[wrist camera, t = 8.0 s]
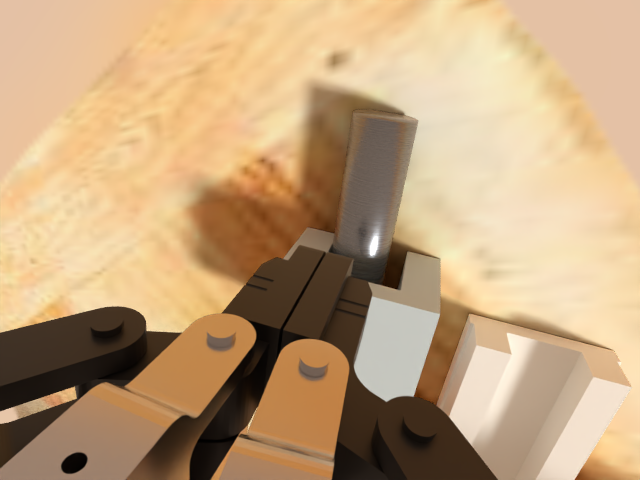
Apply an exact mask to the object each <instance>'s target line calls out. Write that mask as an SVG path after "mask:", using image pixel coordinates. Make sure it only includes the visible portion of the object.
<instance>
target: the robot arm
mask: <svg viewBox="0 0 640 480" xmlns="http://www.w3.org/2000/svg"><path fill="white" fill-rule="evenodd" d="M353 261H354V259H353V258H350V257H346V256H342V255H338V254H334V253H330V252H327V253H326V252H325V251H322V250H318V249H314V248H310V247H306V246H302V245H299V246H298V247H297V249H296V250H295V251H294V253H293V254H292V256H291V257H290V258H289V260H285V259H281V258H277V257H276V258H274V259H272V260H270V261H268V262H266V263H264V264H262V265H261V266H260V267H259V269H258V270H257V271H256V272H255V273H254V275H253V277H251V278H250V280H249V281H248V282H247V284H246V285H245V286H244V287H243V288H242V289H241V290H240V292H239V293H238V294H237V295H236V297H235V298H234V299H233V300H232V301H231V303H230V304H229V305H228V306H227V308H226V309H225V310H224V311H223V312H222V314H212V315H208V316H205V317H202V318H200V319H198V320H196V321H195V322H194V323H192V324H191V325H190V326H189V327H188V328H187V329H186V330H185V331H184V332H183V333H171V332H152V331H146V321H145V318H144V317H143V315H142V314H140V313H139V312H137V311H136V310H133V309H130V308H126V307H104V308H99V309H95V310H91V311H87V312H83V313H79V314H75V315H71V316H67V317H63V318H59V319H55V320H51V321H46V322H42V323H38V324H34V325H30V326H26V327H22V328H18V329H14V330H10V331H6V332H2V333H0V411H2V410H5V409H8V408H11V407H14V406H17V405H20V404H23V403H26V402H29V401H32V400H35V399H38V398H41V397H44V396H47V395H50V394H53V393H56V392H59V391H62V390H65V389H68V388H71V387H74V386H75V390H76V396H77V399H75V400H72V401H69V402H66V403H63V404H61V405H58V406H55V407H52V408H49V409H46V410H43V411H41V412H38V413H35V414H32V415H29V416H26V417H23V418H21V419H18V420H15V421H12V422H9V423H4V424H0V480H498V479H497V478H496V476H495V475H494V474H493V472H492V471H491V470H490V469H489V467H488V466H487V465H486V463H485V462H484V461H483V460H482V458H481V457H480V456H479V455H478V453H477V452H476V451H475V449H474V448H473V447H472V446H471V444H470V443H469V442H468V440H467V439H466V438H465V437H464V435H463V434H462V433H461V431H460V430H459V429H458V428H457V426H456V425H455V424H454V422H453V421H452V420H451V419H450V418H449V416H448V415H447V414H446V413H445V412H444V411H443V410H441V409H440V408H439V407H437V406H436V405H434V404H433V403H431V402H429V401H427V400H424V399H421V398H418V397H412V396H400V397H395V398H393V399H390V400H389V401H387V402H386V401H385V400H383V399H381V398H380V397H378V396H377V395H375V394H374V393H372V392H371V391H369V390H368V389H367V388H366V387H365V386H364V385H363V384H362V383H361V381H360V380H359V378H358V377H357V375H356V373H355V369H354V365H355V361H356V358H357V354H358V351H359V347H360V344H361V340H362V336H363V332H364V328H365V323H366V319H367V315H368V311H369V307H370V303H371V299H372V291H371V288H370V286H369V283H368V281H365V280H361V279H357V278H354V277H351V272H352V267H353ZM257 407H258V408H257ZM256 408H257V410H256ZM255 410H256V413H255V415H254V418H253V420H252V423H251V425H250V428H249V430H248V423H249V422H250V420H251V418H252V416H253V414H254V412H255ZM247 430H248V432H247Z"/></svg>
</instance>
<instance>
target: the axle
mask: <svg viewBox="0 0 640 480" xmlns="http://www.w3.org/2000/svg"><path fill="white" fill-rule="evenodd" d="M417 125H418V120H417V119H415V118H412V117H409V116H406V115H401V114H395V113H389V112H383V111H377V110H367V109H359V110H354V111H353V114H352V121H351V127H350V134H349V140H348V147H347V154H346V160H345V167H344V173H343V180H342V186H341V193H340V200H339V206H338V213H337V219H336V226H335V232H334V239H333V246H332V252H331V253H334V254H338V255H342V256H346V257H350V258H353V259H354V261H353V267H352V272H351V277H354V278H357V279H361V280H365V281H368V282H370V283H374V284H378V285H382V284H383V280H384V275H385V271H386V266H387V262H388V257H389V253H390V248H391V243H392V239H393V234H394V230H395V225H396V221H397V216H398V211H399V207H400V202H401V198H402V193H403V189H404V184H405V180H406V175H407V170H408V166H409V161H410V157H411V152H412V148H413V143H414V138H415V134H416V129H417Z"/></svg>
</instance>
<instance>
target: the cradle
mask: <svg viewBox="0 0 640 480" xmlns="http://www.w3.org/2000/svg"><path fill="white" fill-rule="evenodd" d="M620 364H621V361H620V360H619V358H618V356H617V355H616V353H615V351H612V350H608V349H605V348H601V347H597V346H593V345H589V344H585V343H582V342H578V341H574V340H570V339H566V338H562V337H558V336H555V335H551V334H547V333H543V332H539V331H535V330H532V329H528V328H524V327H520V326H516V325H512V324H508V323H505V322H501V321H497V320H493V319H489V318H485V317H482V316H478V315H474V314H470V313H469V316H468V319H467V321H466V324H465V327H464V330H463V332H462V335H461V338H460V341H459V344H458V346H457V349H456V352H455V355H454V357H453V360H452V363H451V366H450V368H449V371H448V374H447V377H446V379H445V382H444V385H443V388H442V391H441V393H440V396H439V399H438V402H437V404H436V406H437V407H439V408H440V409H441V410H443V411H444V412H445V413H446V414H447V415H448V416H449V418H450V419H451V420H452V421H453V422H454V424H455V425H456V426H457V428H458V429H459V430H460V431H461V433H462V434H463V435H464V437H465V438H466V439H467V440H468V442H469V443H470V444H471V446H472V447H473V448H474V449H475V451H476V452H477V453H478V455H479V456H480V457H481V458H482V460H483V461H484V462H485V463H486V465H487V466H488V467H489V469H490V470H491V471H492V472H493V474H494V475H495V476H496V478H497V479H498V480H575V478H576V476H577V475H578V473H579V472H580V470H581V468H582V467H583V465H584V463H585V462H586V460H587V459H588V457H589V455H590V454H591V452H592V451H593V449H594V447H595V446H596V444H597V443H598V441H599V439H600V438H601V436H602V435H603V433H604V431H605V430H606V428H607V427H608V425H609V423H610V422H611V420H612V419H613V417H614V415H615V414H616V412H617V411H618V409H619V407H620V406H621V404H622V403H623V401H624V399H625V398H626V396H627V395H628V393H629V391H630V390H631V388H632V387H631V385H630V383H629V381H628V380H627V378H626V376H625V374H624V373H623V371H622V369H621V367H620V366H619V365H620Z"/></svg>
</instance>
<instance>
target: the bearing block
mask: <svg viewBox="0 0 640 480" xmlns="http://www.w3.org/2000/svg"><path fill="white" fill-rule="evenodd" d="M333 239H334V233H330V232H326V231H322V230H318V229H314V228H309V227H307V228H306V230H305V231H304V232H303V234H302V235H301V236H300V237H299V239H298V240H297V241H296V243H295V244H294V245H293V246H292V248H291V249H290V250H289V252H288V253H287V254H286V256H285V257H284V258H283V259H285V260H289V258H290V257H291V256H292V254H293V253H294V251H295V250H296V249H297V247H298V246H299V245H302V246H306V247H310V248H314V249H318V250H322V251H325V252H326V253H327V252H330V253H331V252H332V246H333ZM368 283H369V286H370V288H371V291H372V299H371V303H370V307H369V311H368V315H367V319H366V323H365V328H364V332H363V336H362V340H361V344H360V347H359V351H358V354H357V358H356V361H355V365H354V369H355V373H356V375H357V377H358V378H359V380H360V381H361V383H362V384H363V385H364V386H365V387H366V388H367V389H368V390H369V391H371V392H372V393H374V394H375V395H377V396H378V397H380V398H381V399H383V400H385V401H386V402H387V401H389V400H390V399H393V398H395V397H400V396H412V397H414V394H415V391H416V387H417V384H418V381H419V378H420V375H421V372H422V369H423V366H424V363H425V360H426V357H427V354H428V351H429V347H430V344H431V341H432V338H433V335H434V332H435V329H436V326H437V323H438V320H439V317H440V259H438V258H434V257H430V256H425V255H421V254H417V253H413V252H409V251H407V255H406V259H405V263H404V266H403V270H402V274H401V278H400V282H399V285H398V289H393V288H389V287H385V286H382V285H378V284H374V283H370V282H368Z"/></svg>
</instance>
